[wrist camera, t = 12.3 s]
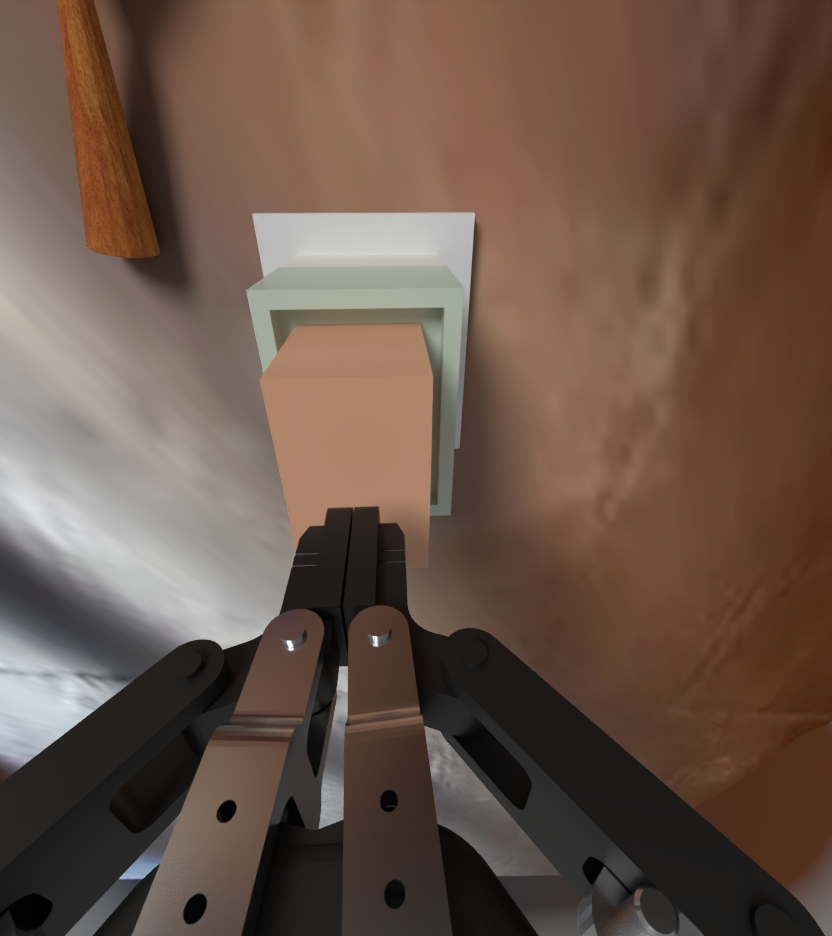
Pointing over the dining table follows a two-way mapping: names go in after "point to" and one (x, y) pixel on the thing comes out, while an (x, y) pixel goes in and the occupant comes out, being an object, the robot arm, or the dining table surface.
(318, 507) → the brick
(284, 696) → the robot arm
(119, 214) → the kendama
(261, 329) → the mint open-top box
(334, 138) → the dining table surface
